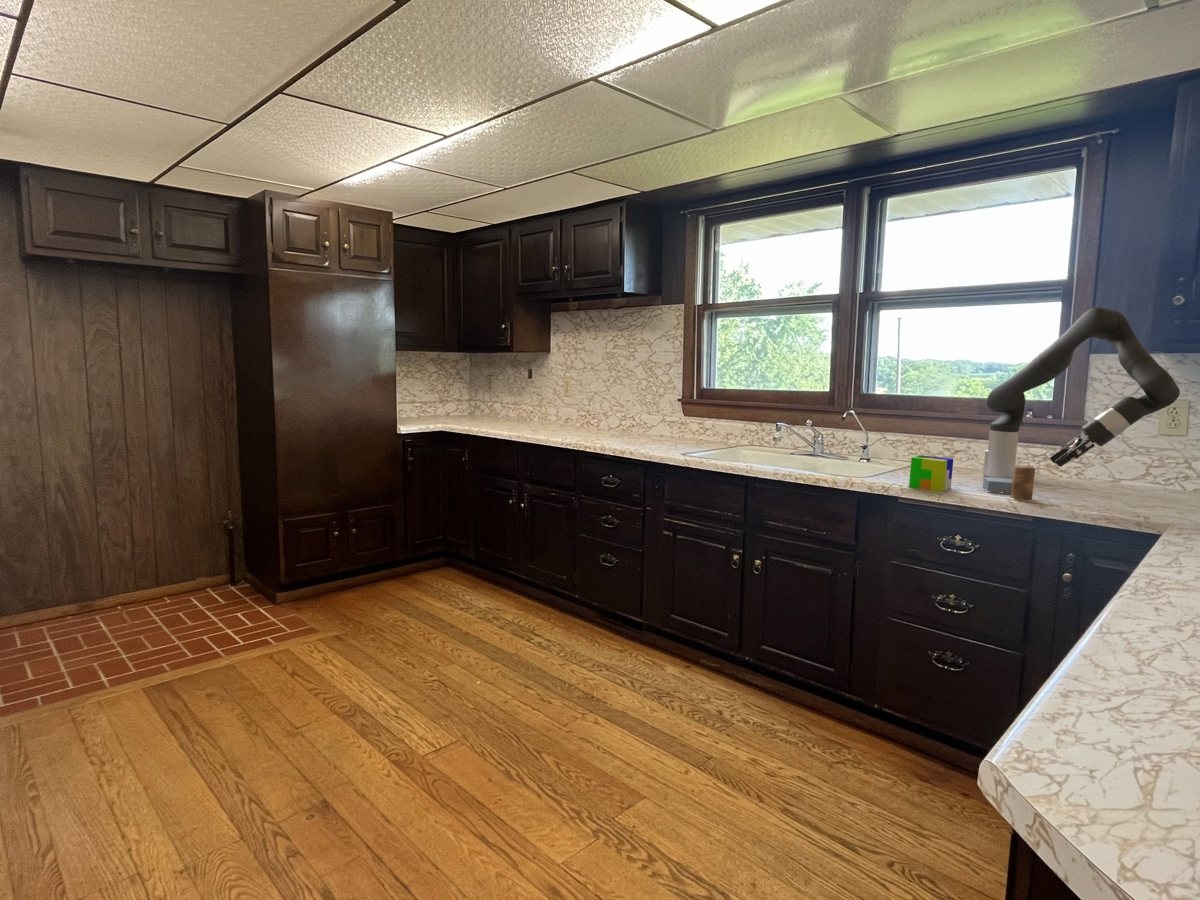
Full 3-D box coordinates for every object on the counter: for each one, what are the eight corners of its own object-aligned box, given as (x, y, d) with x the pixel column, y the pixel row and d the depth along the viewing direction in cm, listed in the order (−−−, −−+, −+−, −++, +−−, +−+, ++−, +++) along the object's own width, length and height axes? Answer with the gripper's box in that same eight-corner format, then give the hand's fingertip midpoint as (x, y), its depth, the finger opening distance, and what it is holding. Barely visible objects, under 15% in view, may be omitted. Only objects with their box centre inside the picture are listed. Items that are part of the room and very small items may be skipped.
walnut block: (1012, 499, 206) (1015, 467, 205) (1010, 496, 210) (1013, 465, 209) (1031, 501, 204) (1035, 468, 203) (1029, 498, 208) (1032, 466, 207)
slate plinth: (987, 493, 218) (988, 481, 217) (982, 488, 226) (983, 476, 226) (1019, 495, 215) (1020, 483, 214) (1013, 491, 223) (1014, 479, 223)
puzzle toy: (950, 488, 224) (953, 458, 222) (941, 491, 216) (944, 461, 215) (919, 484, 230) (921, 455, 229) (908, 487, 223) (911, 457, 222)
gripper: (1089, 416, 204) (1040, 450, 210) (1101, 418, 191) (1049, 455, 197) (1109, 434, 202) (1059, 469, 208) (1122, 438, 189) (1068, 475, 195)
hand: (1054, 462), depth 203 cm, fingers open, 8 cm apart
